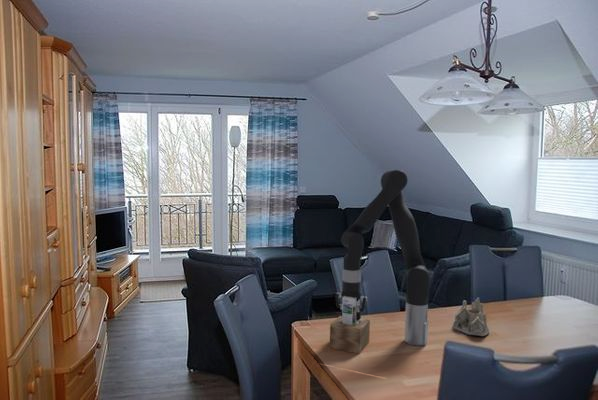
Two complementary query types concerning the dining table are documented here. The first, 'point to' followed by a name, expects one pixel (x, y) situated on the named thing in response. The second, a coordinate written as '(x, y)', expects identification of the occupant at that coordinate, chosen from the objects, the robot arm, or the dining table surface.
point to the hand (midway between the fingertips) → (350, 318)
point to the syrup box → (349, 311)
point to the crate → (349, 335)
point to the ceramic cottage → (471, 319)
